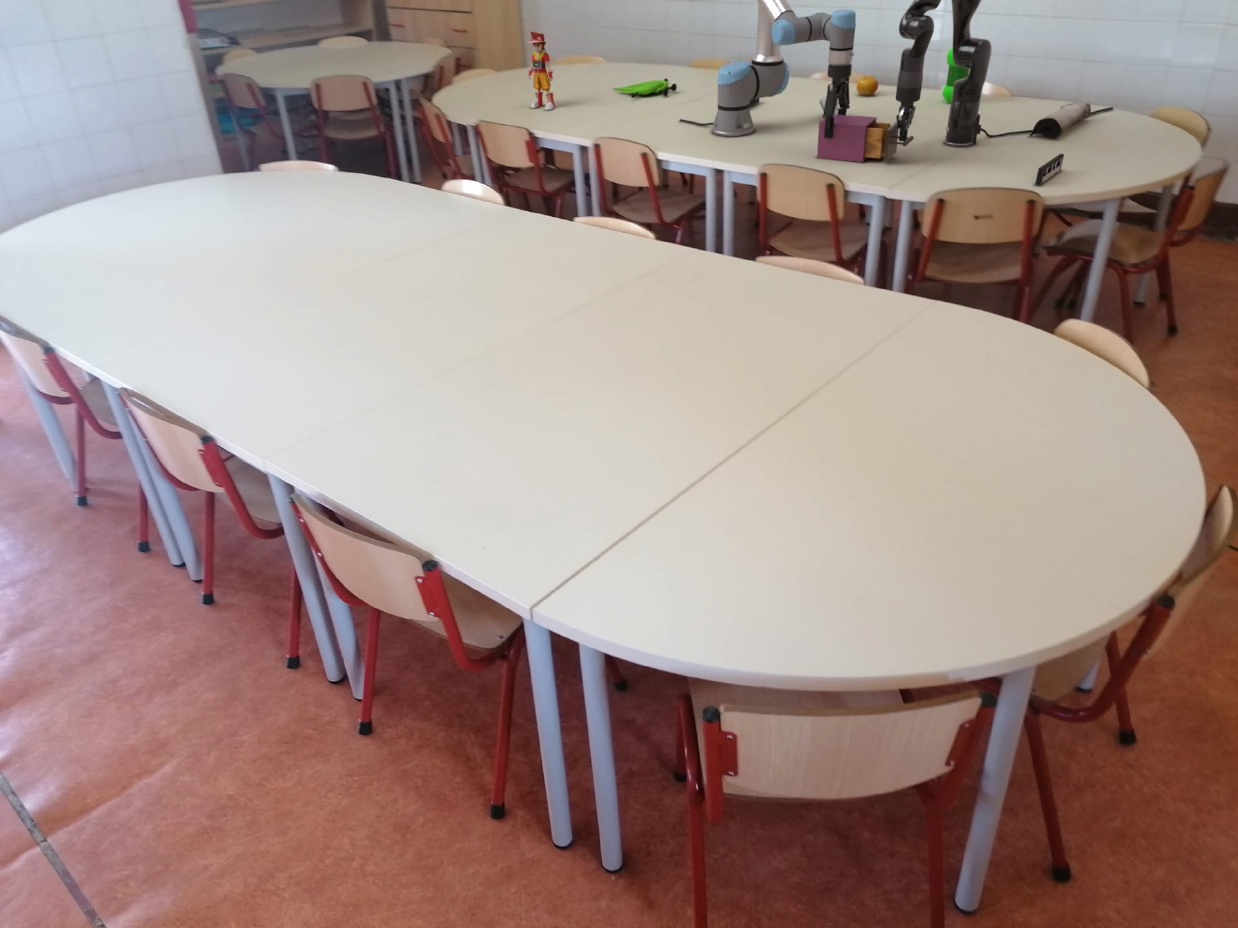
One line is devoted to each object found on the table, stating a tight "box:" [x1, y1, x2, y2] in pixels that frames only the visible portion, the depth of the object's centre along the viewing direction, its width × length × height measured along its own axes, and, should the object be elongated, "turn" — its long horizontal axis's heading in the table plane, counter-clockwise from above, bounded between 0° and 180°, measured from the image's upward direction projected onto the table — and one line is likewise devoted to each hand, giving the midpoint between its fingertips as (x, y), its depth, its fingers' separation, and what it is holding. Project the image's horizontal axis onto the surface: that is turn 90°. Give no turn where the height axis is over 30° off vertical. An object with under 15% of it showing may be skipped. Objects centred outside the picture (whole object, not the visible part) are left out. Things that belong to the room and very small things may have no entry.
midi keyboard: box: [1035, 153, 1065, 186], centre depth 273 cm, size 18×1×5 cm, turn 138°
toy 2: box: [612, 78, 677, 99], centre depth 396 cm, size 28×5×30 cm
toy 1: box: [527, 31, 556, 111], centre depth 374 cm, size 12×9×30 cm
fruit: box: [856, 75, 879, 96], centre depth 370 cm, size 8×8×8 cm
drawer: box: [864, 121, 915, 162], centre depth 296 cm, size 20×10×10 cm, turn 58°
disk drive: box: [749, 98, 761, 108], centre depth 367 cm, size 10×3×15 cm
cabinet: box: [816, 114, 878, 163], centre depth 301 cm, size 16×11×12 cm
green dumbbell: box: [942, 46, 970, 104], centre depth 348 cm, size 10×10×25 cm
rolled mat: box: [1029, 101, 1092, 140], centre depth 316 cm, size 30×9×10 cm
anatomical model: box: [819, 95, 840, 115], centre depth 341 cm, size 15×10×10 cm
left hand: (834, 133), depth 302 cm, fingers closed on cabinet, 11 cm apart
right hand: (902, 140), depth 292 cm, fingers closed
